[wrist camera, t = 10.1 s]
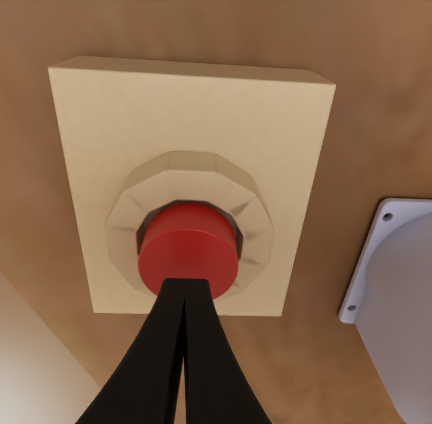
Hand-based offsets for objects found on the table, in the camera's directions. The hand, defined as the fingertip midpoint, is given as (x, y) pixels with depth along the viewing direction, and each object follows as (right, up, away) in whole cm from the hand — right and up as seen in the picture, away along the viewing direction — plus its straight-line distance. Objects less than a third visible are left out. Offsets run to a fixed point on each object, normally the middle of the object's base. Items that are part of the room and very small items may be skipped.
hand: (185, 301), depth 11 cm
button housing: (0, +4, +7) cm, 8 cm away
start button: (0, +2, +3) cm, 3 cm away
